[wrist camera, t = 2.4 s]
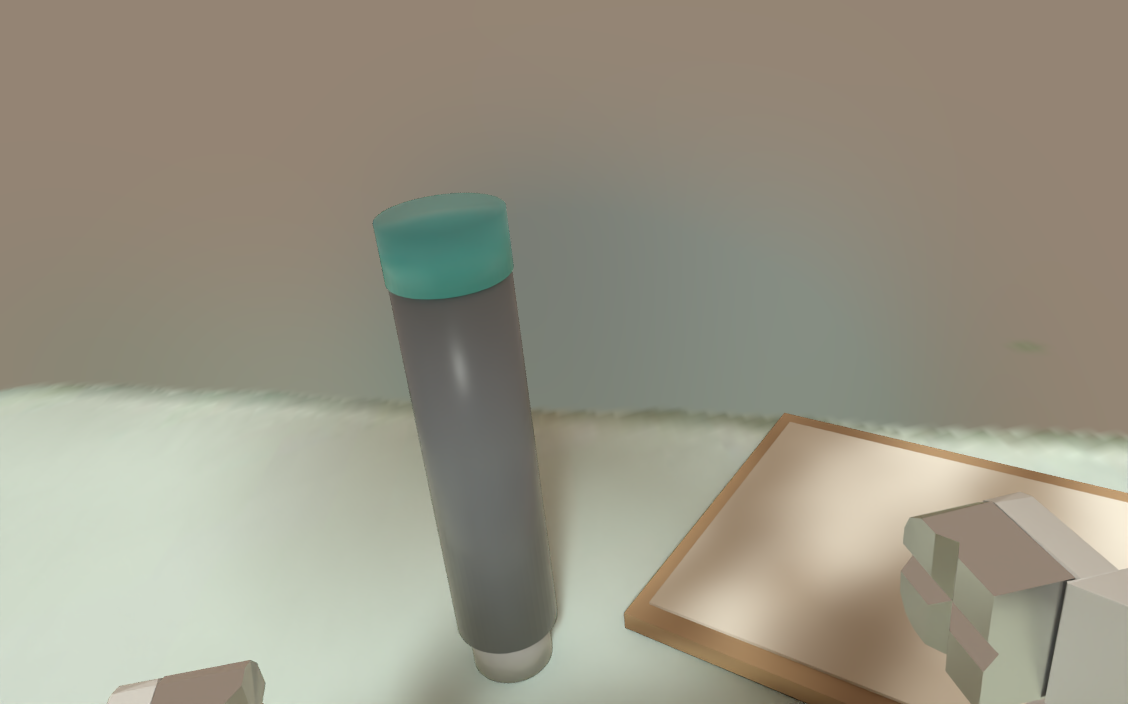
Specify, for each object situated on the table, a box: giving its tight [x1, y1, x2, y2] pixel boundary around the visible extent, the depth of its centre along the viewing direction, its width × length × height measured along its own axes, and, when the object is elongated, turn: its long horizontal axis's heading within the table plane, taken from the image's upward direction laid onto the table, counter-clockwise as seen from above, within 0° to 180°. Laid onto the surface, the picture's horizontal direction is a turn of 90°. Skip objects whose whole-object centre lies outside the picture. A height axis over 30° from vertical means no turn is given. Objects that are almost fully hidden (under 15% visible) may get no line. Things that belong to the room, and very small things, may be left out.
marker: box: [373, 193, 557, 683], centre depth 23 cm, size 3×3×14 cm
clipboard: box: [624, 413, 1128, 704], centre depth 26 cm, size 17×13×2 cm
